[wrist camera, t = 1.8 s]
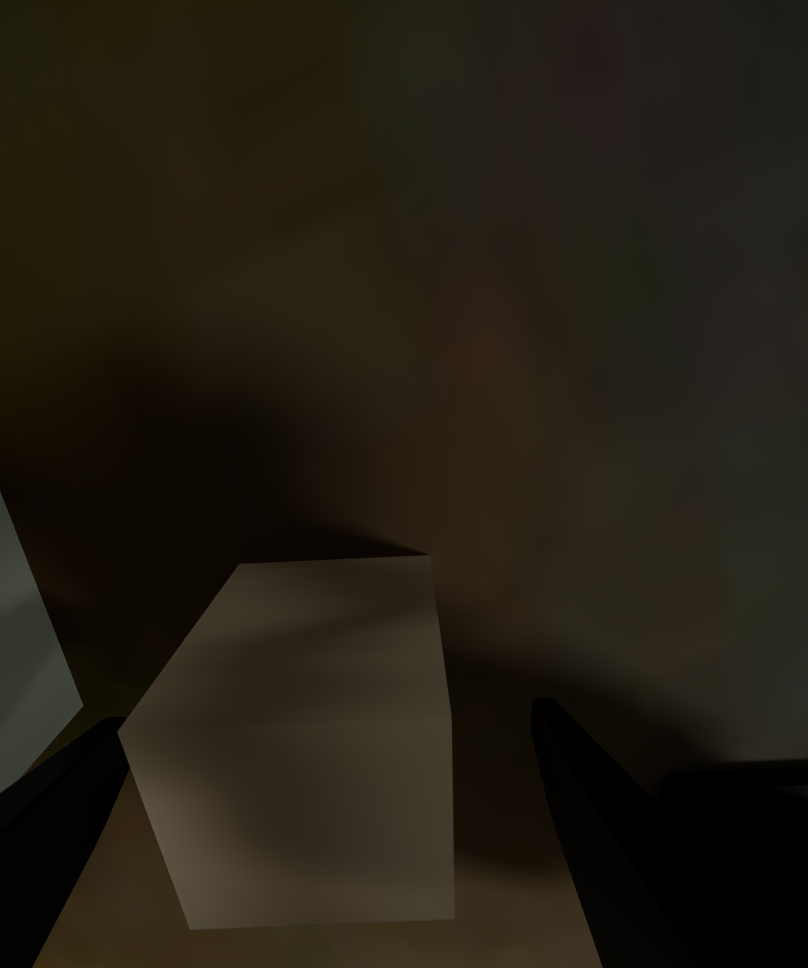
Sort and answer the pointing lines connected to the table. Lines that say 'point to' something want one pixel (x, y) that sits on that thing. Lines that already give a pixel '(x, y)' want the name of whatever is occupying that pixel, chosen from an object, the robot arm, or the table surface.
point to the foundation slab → (27, 665)
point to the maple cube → (304, 749)
